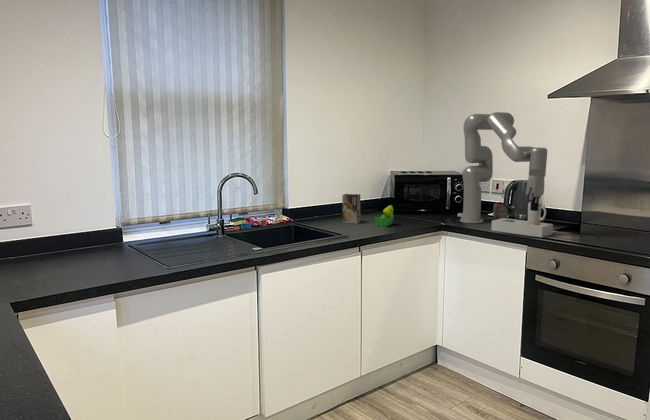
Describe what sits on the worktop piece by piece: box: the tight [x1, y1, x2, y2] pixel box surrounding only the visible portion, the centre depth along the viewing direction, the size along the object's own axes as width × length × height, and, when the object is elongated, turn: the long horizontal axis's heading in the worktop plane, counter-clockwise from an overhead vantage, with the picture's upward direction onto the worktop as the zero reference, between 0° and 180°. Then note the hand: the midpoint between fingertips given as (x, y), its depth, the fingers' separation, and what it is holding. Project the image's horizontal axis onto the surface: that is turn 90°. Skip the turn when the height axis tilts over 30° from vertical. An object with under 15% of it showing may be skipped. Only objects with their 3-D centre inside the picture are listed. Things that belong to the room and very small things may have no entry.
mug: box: [527, 201, 547, 223], centre depth 267 cm, size 10×7×12 cm, turn 37°
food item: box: [492, 201, 509, 220], centre depth 290 cm, size 14×8×10 cm, turn 169°
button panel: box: [490, 217, 554, 238], centre depth 247 cm, size 26×12×5 cm, turn 43°
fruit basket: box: [374, 204, 395, 228], centre depth 269 cm, size 11×9×11 cm
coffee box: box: [341, 193, 361, 225], centre depth 278 cm, size 9×6×16 cm
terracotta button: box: [529, 221, 541, 225], centre depth 242 cm, size 5×5×5 cm
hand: (534, 210), depth 242 cm, fingers closed
